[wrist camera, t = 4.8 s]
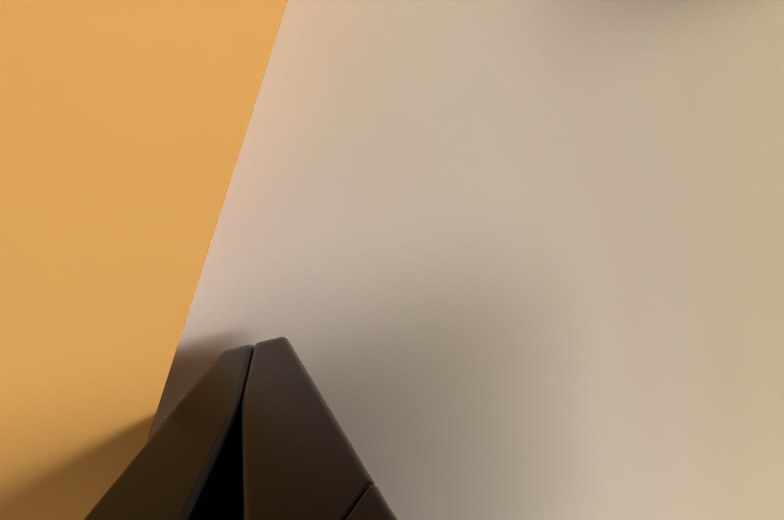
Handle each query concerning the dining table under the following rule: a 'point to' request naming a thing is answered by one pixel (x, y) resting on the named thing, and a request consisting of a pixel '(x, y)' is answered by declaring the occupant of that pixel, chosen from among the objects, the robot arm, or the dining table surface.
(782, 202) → the dining table surface
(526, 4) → the dining table surface
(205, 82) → the long orange brick
